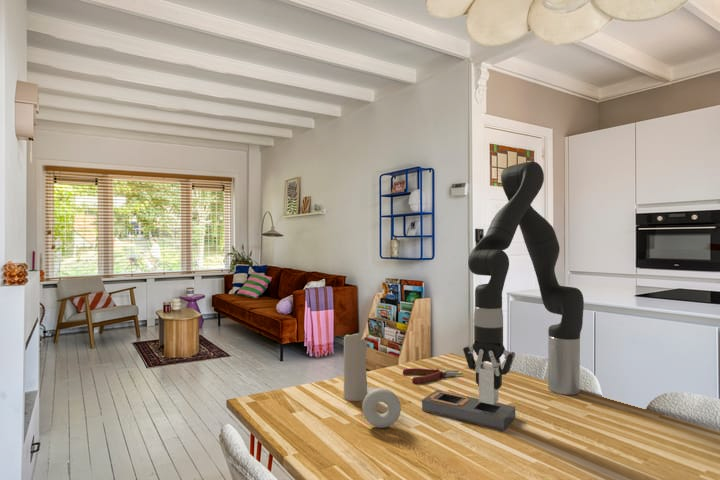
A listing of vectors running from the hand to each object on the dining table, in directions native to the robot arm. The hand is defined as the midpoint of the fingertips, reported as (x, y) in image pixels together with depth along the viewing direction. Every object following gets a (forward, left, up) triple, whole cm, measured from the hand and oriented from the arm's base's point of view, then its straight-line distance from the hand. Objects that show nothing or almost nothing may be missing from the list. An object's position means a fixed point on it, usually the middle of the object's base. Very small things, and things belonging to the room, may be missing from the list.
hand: (488, 386), depth 121 cm
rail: (0, -6, -9) cm, 10 cm away
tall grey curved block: (+4, -39, -9) cm, 40 cm away
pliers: (-23, -27, -9) cm, 37 cm away
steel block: (0, 0, -4) cm, 4 cm away
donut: (+21, -21, -9) cm, 31 cm away
